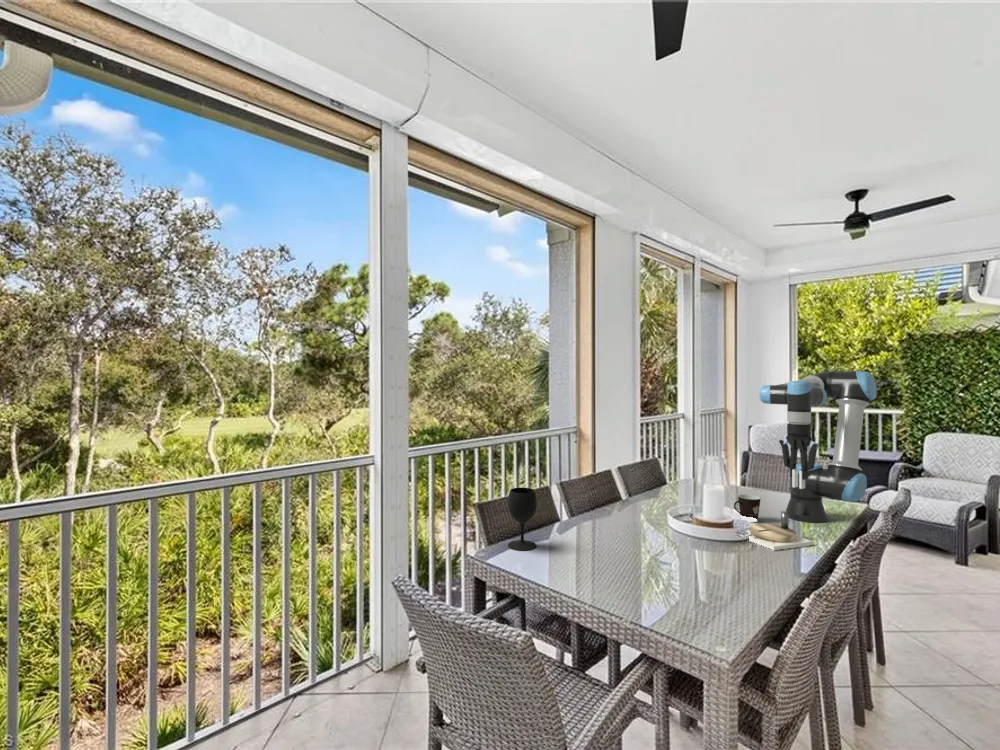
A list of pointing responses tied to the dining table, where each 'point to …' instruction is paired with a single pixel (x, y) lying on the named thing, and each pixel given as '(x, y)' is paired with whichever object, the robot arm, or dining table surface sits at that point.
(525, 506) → the wine glass
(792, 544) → the base plate
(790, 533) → the dial
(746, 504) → the coffee mug
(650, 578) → the dining table surface
